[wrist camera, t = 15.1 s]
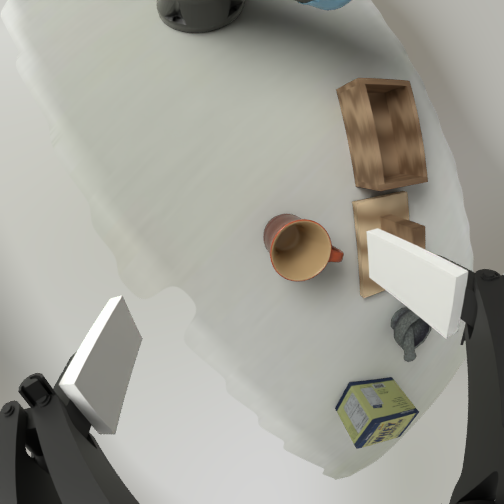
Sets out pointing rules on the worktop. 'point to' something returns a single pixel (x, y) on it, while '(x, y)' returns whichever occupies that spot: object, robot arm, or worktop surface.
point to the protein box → (375, 411)
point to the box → (383, 133)
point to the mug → (299, 247)
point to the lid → (389, 220)
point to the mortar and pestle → (409, 331)
